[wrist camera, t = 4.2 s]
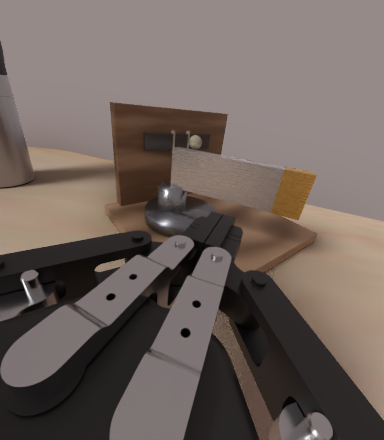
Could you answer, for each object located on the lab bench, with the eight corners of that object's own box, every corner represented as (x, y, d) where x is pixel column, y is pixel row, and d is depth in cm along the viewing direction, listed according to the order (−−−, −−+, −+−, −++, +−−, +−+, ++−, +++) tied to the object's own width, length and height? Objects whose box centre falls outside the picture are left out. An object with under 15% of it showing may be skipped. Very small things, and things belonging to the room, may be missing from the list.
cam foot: (129, 223, 27) (126, 147, 23) (166, 198, 36) (169, 138, 31) (284, 275, 22) (322, 187, 17) (285, 231, 30) (311, 164, 25)
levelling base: (105, 213, 33) (93, 100, 25) (216, 191, 46) (229, 114, 39) (187, 319, 18) (215, 126, 11) (313, 242, 32) (365, 133, 24)
